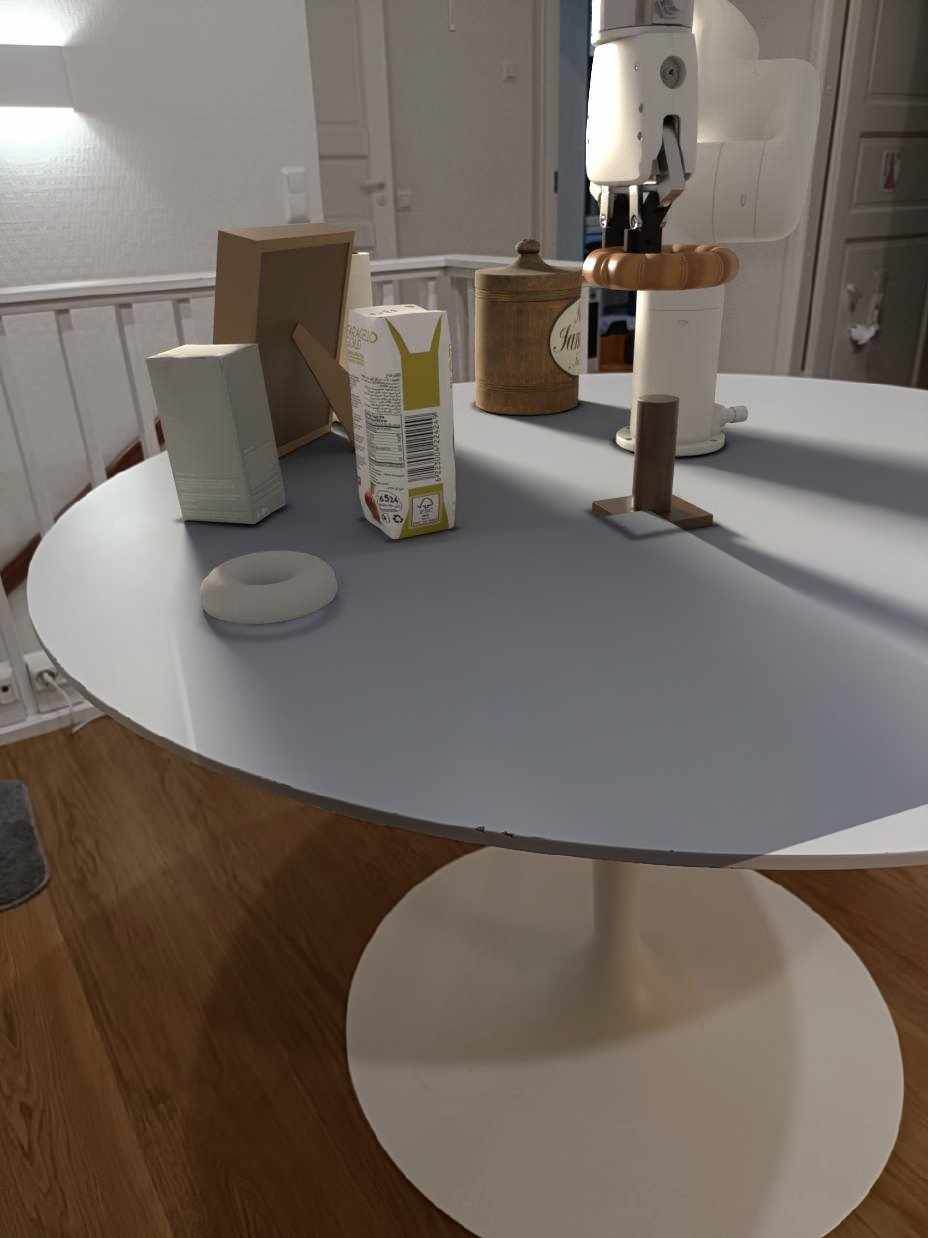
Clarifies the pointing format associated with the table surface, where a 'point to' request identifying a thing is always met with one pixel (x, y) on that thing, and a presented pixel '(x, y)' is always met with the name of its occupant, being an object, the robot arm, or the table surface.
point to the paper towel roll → (356, 298)
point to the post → (655, 468)
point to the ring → (662, 268)
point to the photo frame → (290, 320)
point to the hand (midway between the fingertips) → (629, 276)
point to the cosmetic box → (218, 431)
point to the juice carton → (403, 417)
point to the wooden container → (527, 335)
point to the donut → (268, 587)
